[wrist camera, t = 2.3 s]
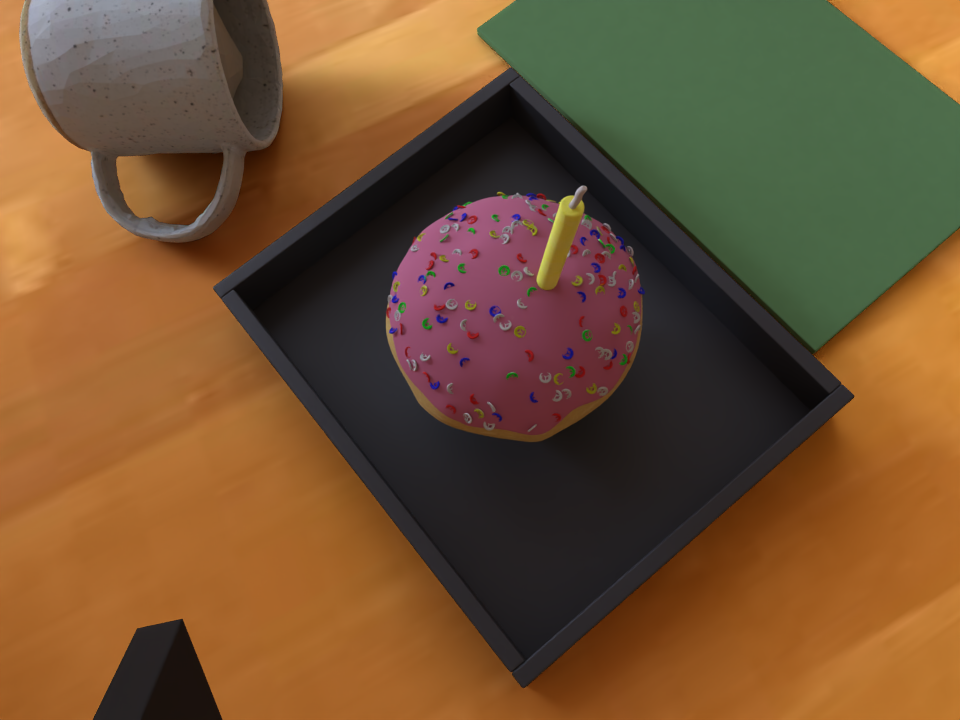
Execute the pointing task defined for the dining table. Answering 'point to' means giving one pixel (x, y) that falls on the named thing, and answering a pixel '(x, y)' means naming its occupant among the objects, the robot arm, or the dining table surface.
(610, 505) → the baking pan
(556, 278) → the cupcake
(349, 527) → the dining table surface
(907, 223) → the green cloth
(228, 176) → the ceramic mug
